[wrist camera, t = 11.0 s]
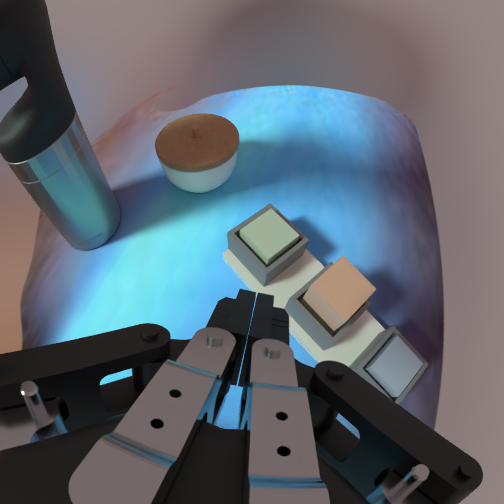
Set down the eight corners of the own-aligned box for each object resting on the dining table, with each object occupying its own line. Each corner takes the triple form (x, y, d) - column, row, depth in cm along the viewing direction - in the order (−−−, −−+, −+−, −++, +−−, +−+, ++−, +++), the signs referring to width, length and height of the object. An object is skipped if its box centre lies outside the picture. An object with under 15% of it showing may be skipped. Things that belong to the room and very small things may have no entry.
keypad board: (222, 258, 36) (220, 237, 31) (271, 223, 38) (276, 199, 34) (368, 415, 27) (388, 416, 23) (409, 365, 30) (432, 357, 25)
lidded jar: (218, 143, 45) (215, 95, 37) (252, 187, 41) (256, 136, 33) (155, 169, 42) (142, 121, 34) (182, 219, 38) (169, 169, 30)
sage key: (239, 246, 34) (239, 229, 31) (268, 225, 35) (271, 208, 32) (265, 273, 32) (268, 259, 29) (293, 251, 34) (299, 235, 31)
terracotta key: (302, 298, 28) (310, 284, 25) (332, 271, 29) (343, 255, 26) (333, 330, 27) (346, 321, 23) (362, 301, 28) (376, 289, 25)
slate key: (356, 371, 27) (370, 367, 24) (382, 342, 29) (397, 335, 26) (382, 398, 26) (398, 396, 23) (406, 368, 28) (423, 363, 24)
